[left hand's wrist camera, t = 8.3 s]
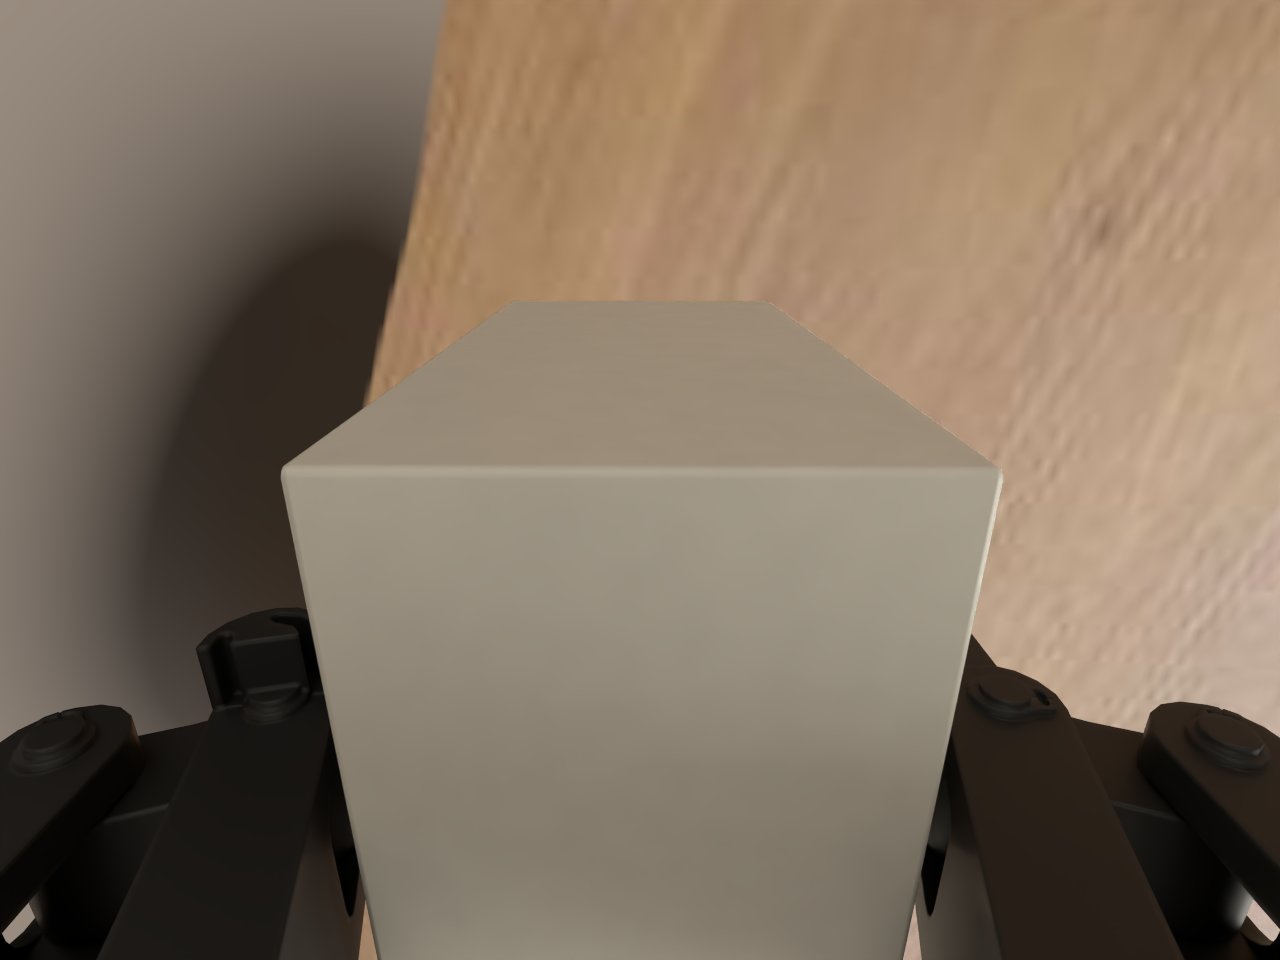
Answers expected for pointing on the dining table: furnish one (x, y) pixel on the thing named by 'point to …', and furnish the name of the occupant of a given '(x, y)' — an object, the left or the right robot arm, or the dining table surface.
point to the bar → (641, 637)
